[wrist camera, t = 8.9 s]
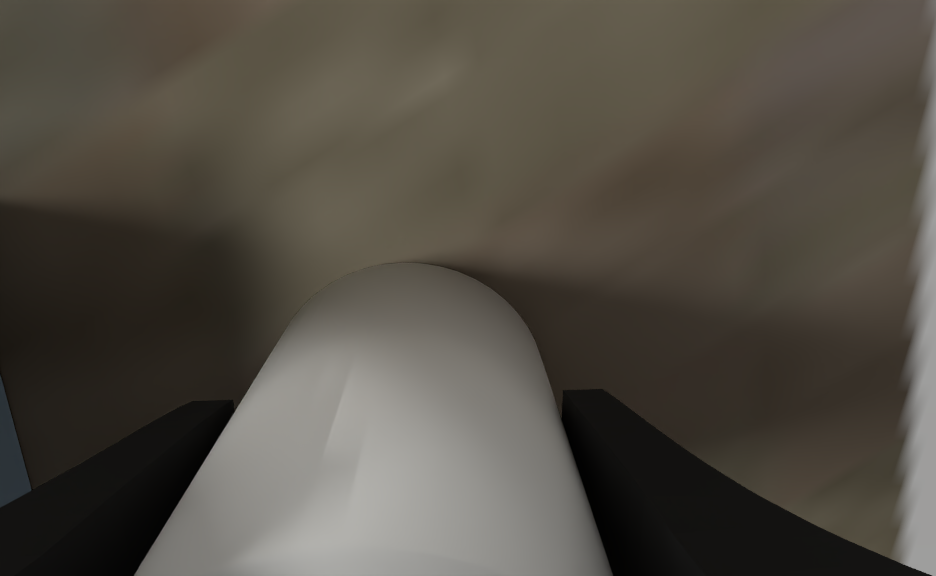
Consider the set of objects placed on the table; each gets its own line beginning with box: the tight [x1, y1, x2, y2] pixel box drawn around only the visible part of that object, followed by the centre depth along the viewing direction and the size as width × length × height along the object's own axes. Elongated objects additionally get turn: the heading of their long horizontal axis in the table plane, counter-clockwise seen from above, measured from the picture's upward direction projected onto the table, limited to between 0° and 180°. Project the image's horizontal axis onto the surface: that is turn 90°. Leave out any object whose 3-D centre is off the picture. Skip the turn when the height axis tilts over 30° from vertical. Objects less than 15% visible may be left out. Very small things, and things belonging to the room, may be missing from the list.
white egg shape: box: [134, 263, 613, 576], centre depth 9 cm, size 5×5×7 cm
